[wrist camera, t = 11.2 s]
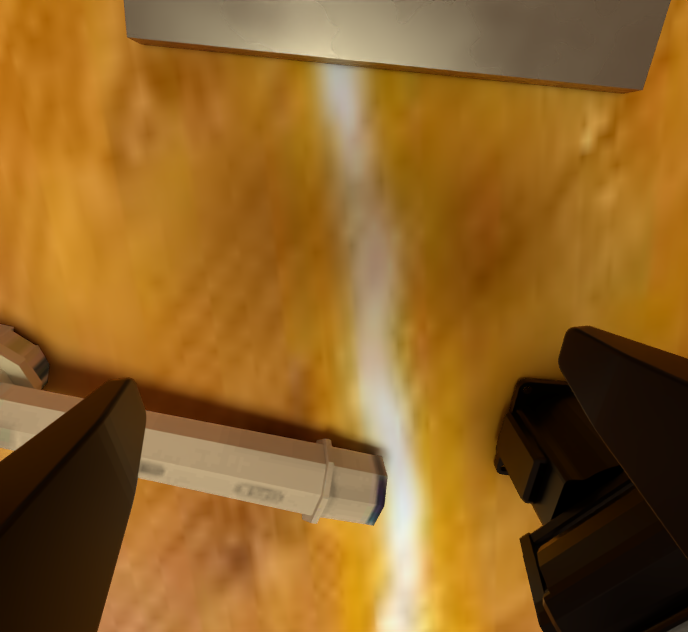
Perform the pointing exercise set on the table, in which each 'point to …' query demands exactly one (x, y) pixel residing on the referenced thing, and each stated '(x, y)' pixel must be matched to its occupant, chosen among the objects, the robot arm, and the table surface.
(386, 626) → the table surface
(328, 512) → the grey long bar
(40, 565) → the robot arm
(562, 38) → the metal plate with ring
